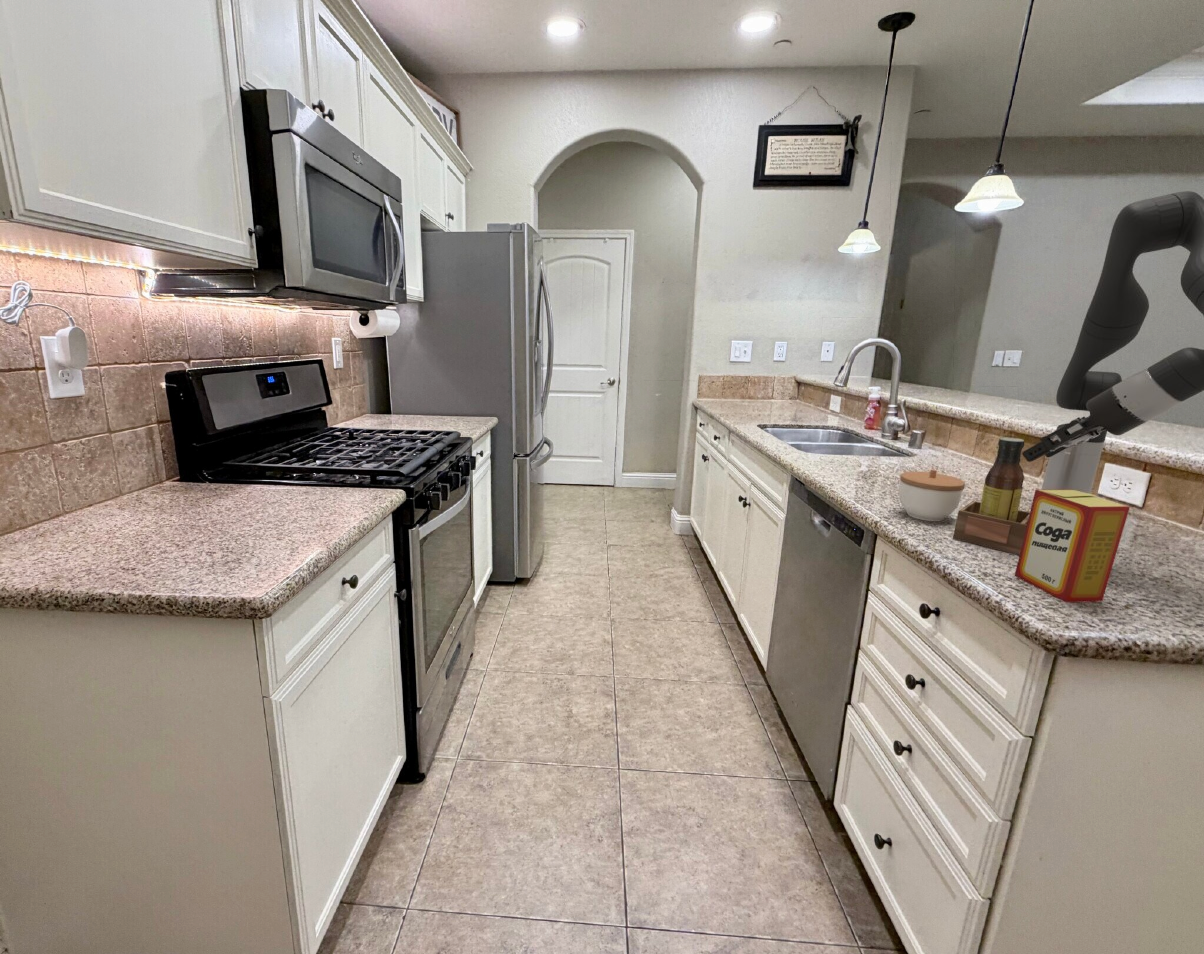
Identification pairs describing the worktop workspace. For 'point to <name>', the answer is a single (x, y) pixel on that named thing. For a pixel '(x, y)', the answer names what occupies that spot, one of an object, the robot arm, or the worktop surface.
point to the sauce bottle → (1004, 482)
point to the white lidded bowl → (929, 494)
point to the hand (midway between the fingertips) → (1035, 455)
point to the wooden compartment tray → (990, 529)
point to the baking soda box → (1071, 544)
